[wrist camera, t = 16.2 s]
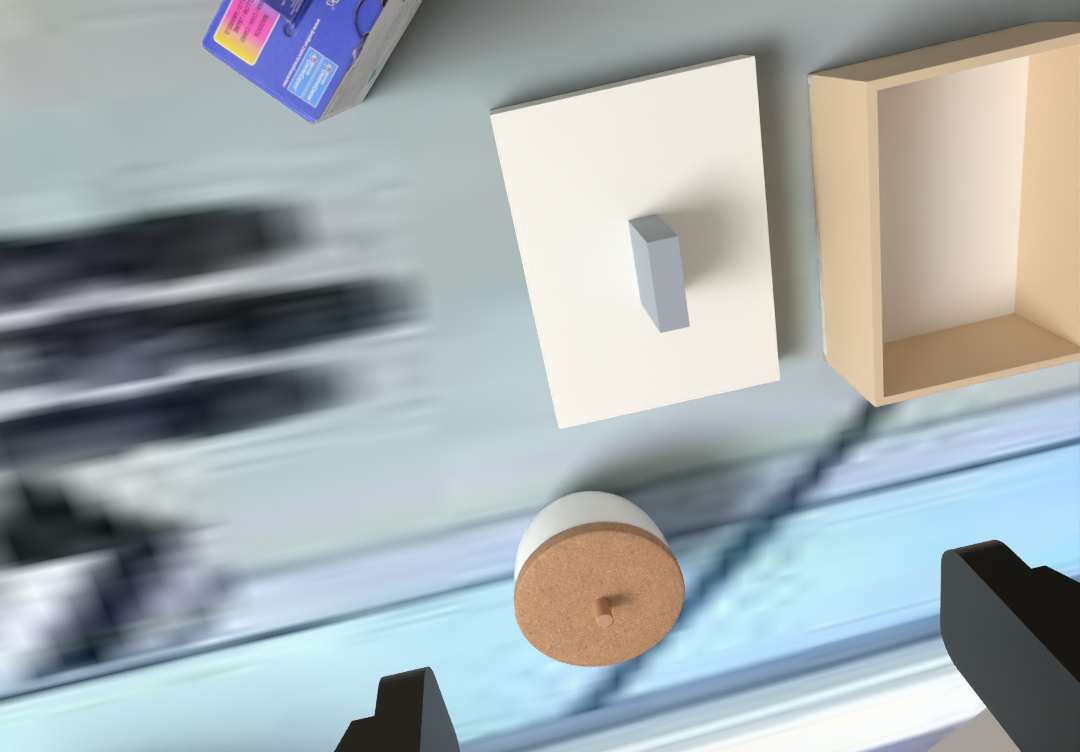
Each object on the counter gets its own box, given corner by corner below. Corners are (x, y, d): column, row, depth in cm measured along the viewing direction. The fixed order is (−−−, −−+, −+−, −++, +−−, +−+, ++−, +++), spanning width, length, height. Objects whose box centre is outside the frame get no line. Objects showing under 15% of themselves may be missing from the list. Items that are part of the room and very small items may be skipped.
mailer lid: (489, 110, 43) (493, 126, 36) (739, 54, 43) (791, 59, 36) (555, 411, 51) (568, 470, 44) (765, 364, 51) (812, 416, 44)
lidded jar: (548, 610, 58) (563, 711, 49) (481, 505, 53) (484, 595, 45) (679, 551, 56) (717, 644, 48) (621, 439, 52) (652, 519, 44)
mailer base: (807, 74, 43) (866, 81, 37) (1033, 22, 43) (1131, 20, 37) (823, 359, 51) (875, 407, 45) (1016, 315, 51) (1095, 356, 44)
